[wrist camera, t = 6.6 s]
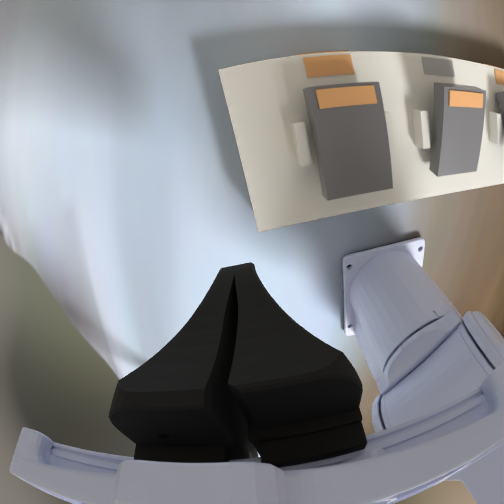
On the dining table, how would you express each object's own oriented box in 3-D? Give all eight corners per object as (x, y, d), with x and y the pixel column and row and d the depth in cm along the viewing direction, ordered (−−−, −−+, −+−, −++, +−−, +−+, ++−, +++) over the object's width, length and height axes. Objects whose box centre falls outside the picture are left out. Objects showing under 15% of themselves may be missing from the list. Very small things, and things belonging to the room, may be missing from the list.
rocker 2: (468, 164, 15) (477, 172, 14) (429, 169, 16) (438, 177, 15) (475, 86, 11) (487, 91, 10) (433, 82, 12) (445, 86, 11)
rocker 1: (385, 184, 15) (393, 188, 14) (322, 195, 15) (327, 201, 14) (371, 83, 13) (379, 81, 12) (302, 89, 13) (307, 87, 12)
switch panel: (516, 168, 18) (541, 181, 15) (255, 213, 20) (259, 239, 17) (512, 74, 13) (541, 79, 10) (220, 72, 15) (216, 64, 12)
